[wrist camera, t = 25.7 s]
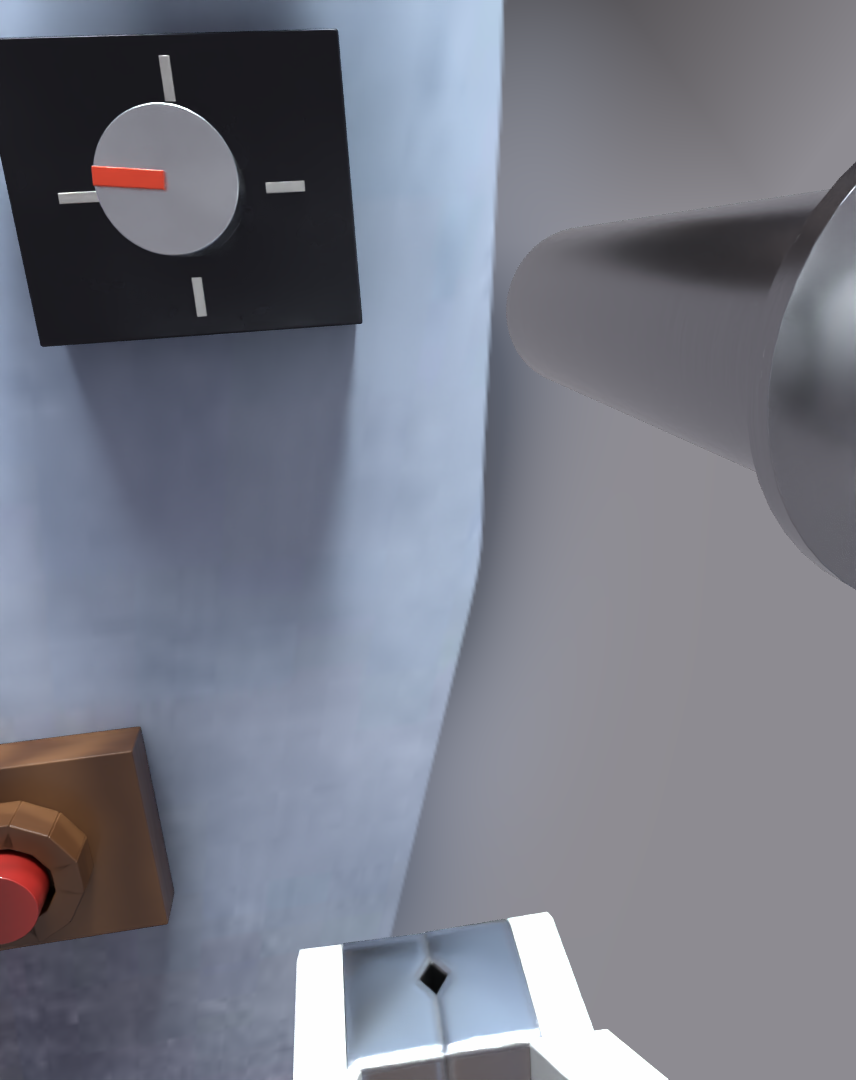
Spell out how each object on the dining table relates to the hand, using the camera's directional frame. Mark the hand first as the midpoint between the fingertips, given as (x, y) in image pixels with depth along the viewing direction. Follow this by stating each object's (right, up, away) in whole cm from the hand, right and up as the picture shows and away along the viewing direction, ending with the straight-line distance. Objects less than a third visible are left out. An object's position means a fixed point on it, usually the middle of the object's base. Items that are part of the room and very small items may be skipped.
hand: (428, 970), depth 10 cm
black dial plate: (-9, +19, +22) cm, 30 cm away
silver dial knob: (-9, +18, +19) cm, 28 cm away
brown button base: (-19, -9, +30) cm, 37 cm away
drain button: (-19, -10, +26) cm, 34 cm away
